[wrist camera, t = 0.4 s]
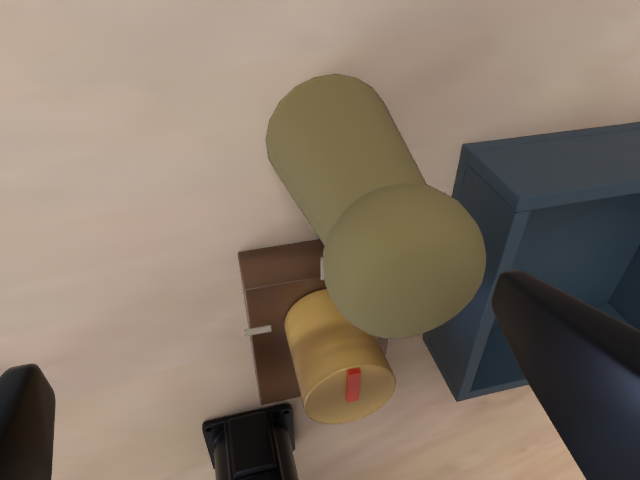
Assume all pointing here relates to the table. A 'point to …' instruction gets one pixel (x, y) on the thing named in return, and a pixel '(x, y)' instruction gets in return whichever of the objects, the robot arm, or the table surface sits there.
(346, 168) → the cork
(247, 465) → the robot arm
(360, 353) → the tap knob
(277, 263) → the panel
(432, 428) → the table surface
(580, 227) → the basin
